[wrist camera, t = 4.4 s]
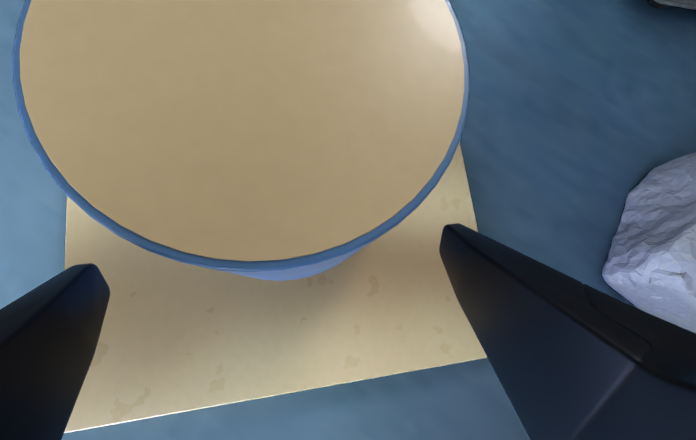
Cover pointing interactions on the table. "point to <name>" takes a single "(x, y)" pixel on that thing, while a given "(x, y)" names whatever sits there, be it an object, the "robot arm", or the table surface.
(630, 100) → the table surface
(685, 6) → the vintage electronic device
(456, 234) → the robot arm
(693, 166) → the stone block
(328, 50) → the blue cylinder
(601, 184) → the table surface
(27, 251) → the table surface
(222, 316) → the birch board
